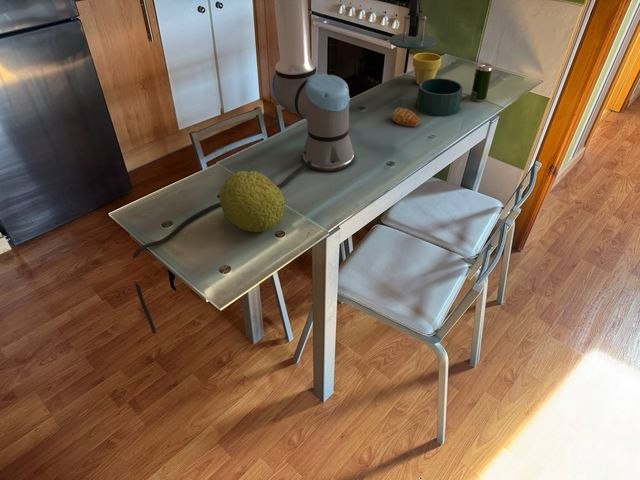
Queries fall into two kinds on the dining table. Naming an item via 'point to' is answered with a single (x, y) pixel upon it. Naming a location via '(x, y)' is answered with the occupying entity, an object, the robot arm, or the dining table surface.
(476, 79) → the beer can
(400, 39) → the lid
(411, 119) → the pastry
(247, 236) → the dining table surface
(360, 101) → the dining table surface
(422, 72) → the flower pot
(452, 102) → the pot
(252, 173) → the fruit
